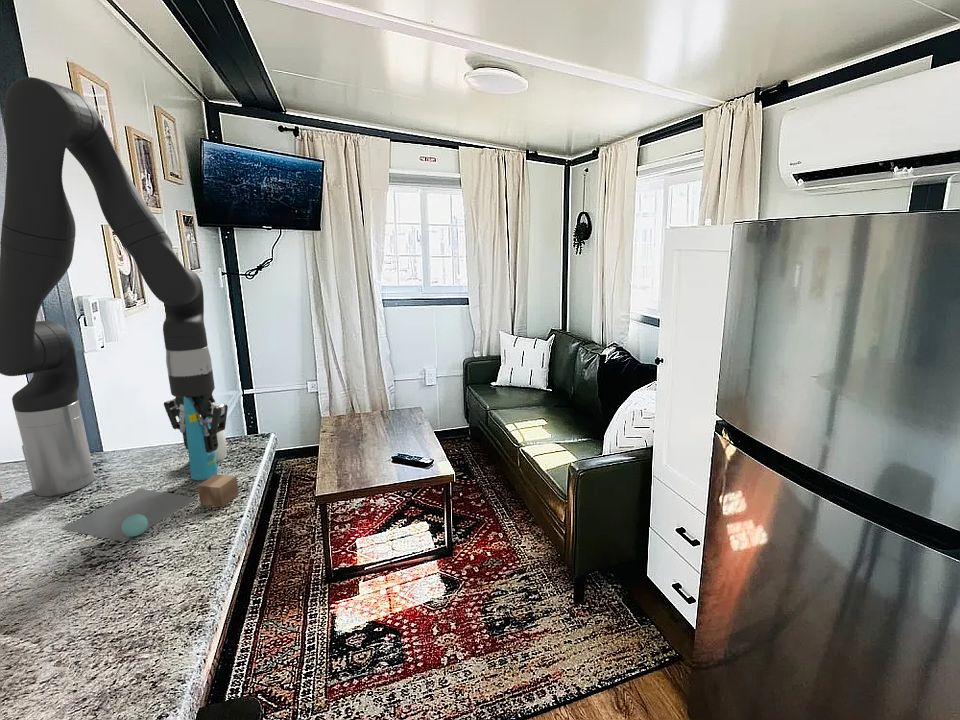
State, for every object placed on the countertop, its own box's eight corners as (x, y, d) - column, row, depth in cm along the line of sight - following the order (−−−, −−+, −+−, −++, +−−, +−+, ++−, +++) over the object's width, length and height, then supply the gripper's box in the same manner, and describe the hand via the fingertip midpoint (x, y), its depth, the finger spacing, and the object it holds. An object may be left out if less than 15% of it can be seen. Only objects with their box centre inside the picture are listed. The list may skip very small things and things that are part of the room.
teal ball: (118, 539, 75) (114, 520, 74) (138, 527, 78) (135, 508, 78) (135, 542, 74) (131, 523, 73) (155, 530, 77) (151, 511, 77)
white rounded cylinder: (184, 462, 103) (179, 429, 102) (209, 449, 110) (205, 418, 108) (211, 466, 102) (206, 432, 100) (234, 453, 109) (230, 421, 107)
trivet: (61, 531, 78) (61, 528, 78) (140, 491, 91) (140, 488, 91) (125, 545, 75) (125, 541, 74) (198, 500, 88) (197, 498, 88)
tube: (212, 482, 94) (199, 392, 89) (185, 485, 93) (171, 393, 88) (223, 466, 101) (211, 381, 96) (198, 468, 100) (185, 383, 95)
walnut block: (197, 485, 85) (219, 487, 84) (215, 474, 89) (236, 476, 88) (201, 507, 86) (222, 509, 85) (218, 495, 90) (239, 497, 89)
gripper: (144, 372, 90) (158, 453, 94) (204, 377, 86) (216, 461, 90) (177, 363, 97) (189, 439, 101) (234, 367, 93) (244, 446, 97)
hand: (201, 449), depth 95 cm, fingers closed on tube, 4 cm apart
